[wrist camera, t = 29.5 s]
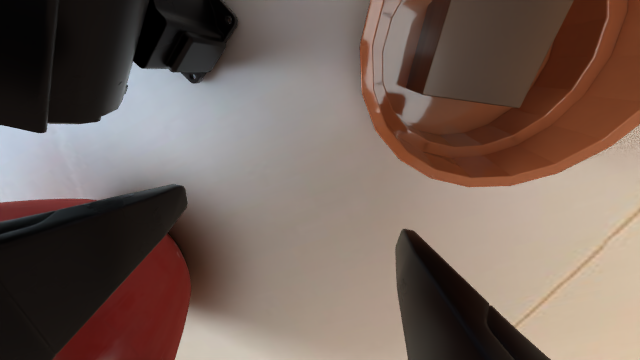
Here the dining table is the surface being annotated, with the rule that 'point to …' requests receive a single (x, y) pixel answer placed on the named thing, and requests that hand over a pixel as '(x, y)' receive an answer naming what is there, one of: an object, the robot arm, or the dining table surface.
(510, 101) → the block
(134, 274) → the mixing bowl
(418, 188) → the dining table surface
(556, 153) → the bowl
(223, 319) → the dining table surface
